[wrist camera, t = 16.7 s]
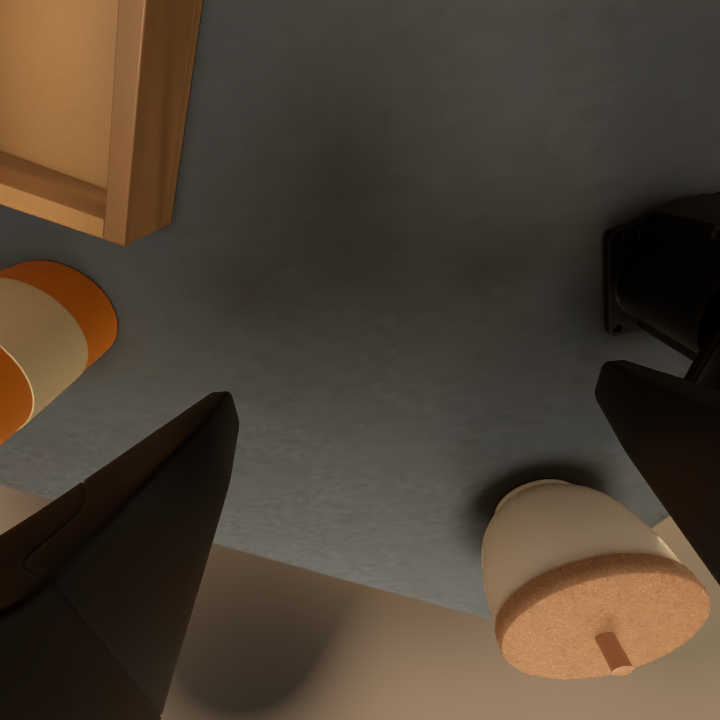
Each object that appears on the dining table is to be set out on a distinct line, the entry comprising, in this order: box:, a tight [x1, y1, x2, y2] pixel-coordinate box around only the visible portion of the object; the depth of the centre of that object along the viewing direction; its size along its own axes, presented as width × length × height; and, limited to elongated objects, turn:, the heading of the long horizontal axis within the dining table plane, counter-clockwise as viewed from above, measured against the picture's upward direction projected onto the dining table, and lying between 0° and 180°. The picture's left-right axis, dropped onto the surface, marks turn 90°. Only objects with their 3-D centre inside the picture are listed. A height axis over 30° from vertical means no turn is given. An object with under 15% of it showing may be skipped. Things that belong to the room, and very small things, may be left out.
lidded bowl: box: [481, 479, 710, 679], centre depth 27 cm, size 13×13×11 cm
